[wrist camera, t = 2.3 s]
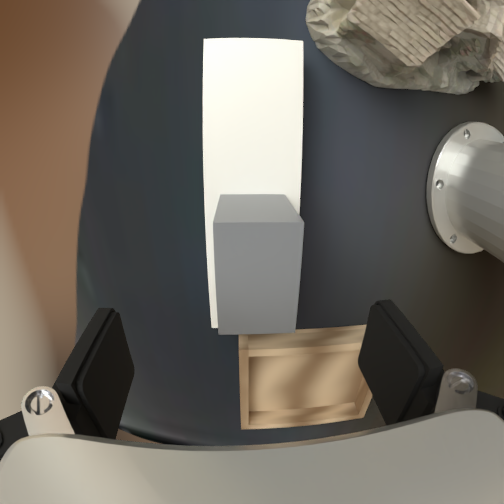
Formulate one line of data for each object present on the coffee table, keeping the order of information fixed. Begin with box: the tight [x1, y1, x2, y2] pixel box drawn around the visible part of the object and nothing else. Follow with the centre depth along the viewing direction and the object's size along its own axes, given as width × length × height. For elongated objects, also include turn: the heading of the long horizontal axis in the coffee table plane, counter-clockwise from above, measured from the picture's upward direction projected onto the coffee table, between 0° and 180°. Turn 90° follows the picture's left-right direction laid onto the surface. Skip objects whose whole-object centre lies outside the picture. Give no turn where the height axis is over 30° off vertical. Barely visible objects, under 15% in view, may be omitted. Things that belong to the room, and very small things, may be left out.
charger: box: [213, 194, 304, 335], centre depth 18 cm, size 4×6×8 cm, turn 0°
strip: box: [203, 38, 303, 328], centre depth 20 cm, size 6×20×4 cm, turn 0°
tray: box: [239, 325, 373, 429], centre depth 28 cm, size 14×12×3 cm
